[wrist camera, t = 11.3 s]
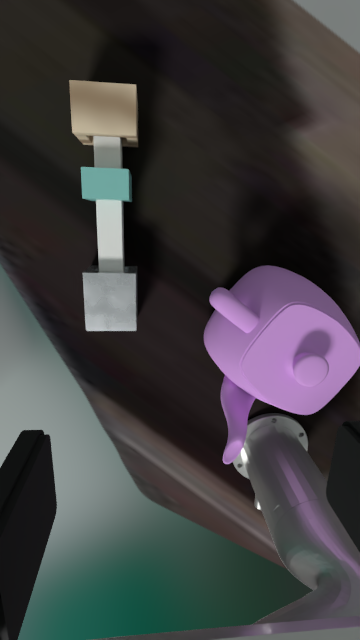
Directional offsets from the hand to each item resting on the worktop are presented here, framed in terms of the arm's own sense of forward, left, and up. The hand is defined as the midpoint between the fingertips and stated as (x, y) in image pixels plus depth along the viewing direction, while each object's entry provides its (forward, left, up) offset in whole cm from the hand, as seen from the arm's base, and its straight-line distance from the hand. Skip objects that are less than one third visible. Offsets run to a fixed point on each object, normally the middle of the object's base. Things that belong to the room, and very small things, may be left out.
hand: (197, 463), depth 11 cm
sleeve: (-2, +6, -36) cm, 37 cm away
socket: (+18, +6, -36) cm, 41 cm away
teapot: (-8, -15, -37) cm, 40 cm away
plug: (+9, +6, -36) cm, 38 cm away
